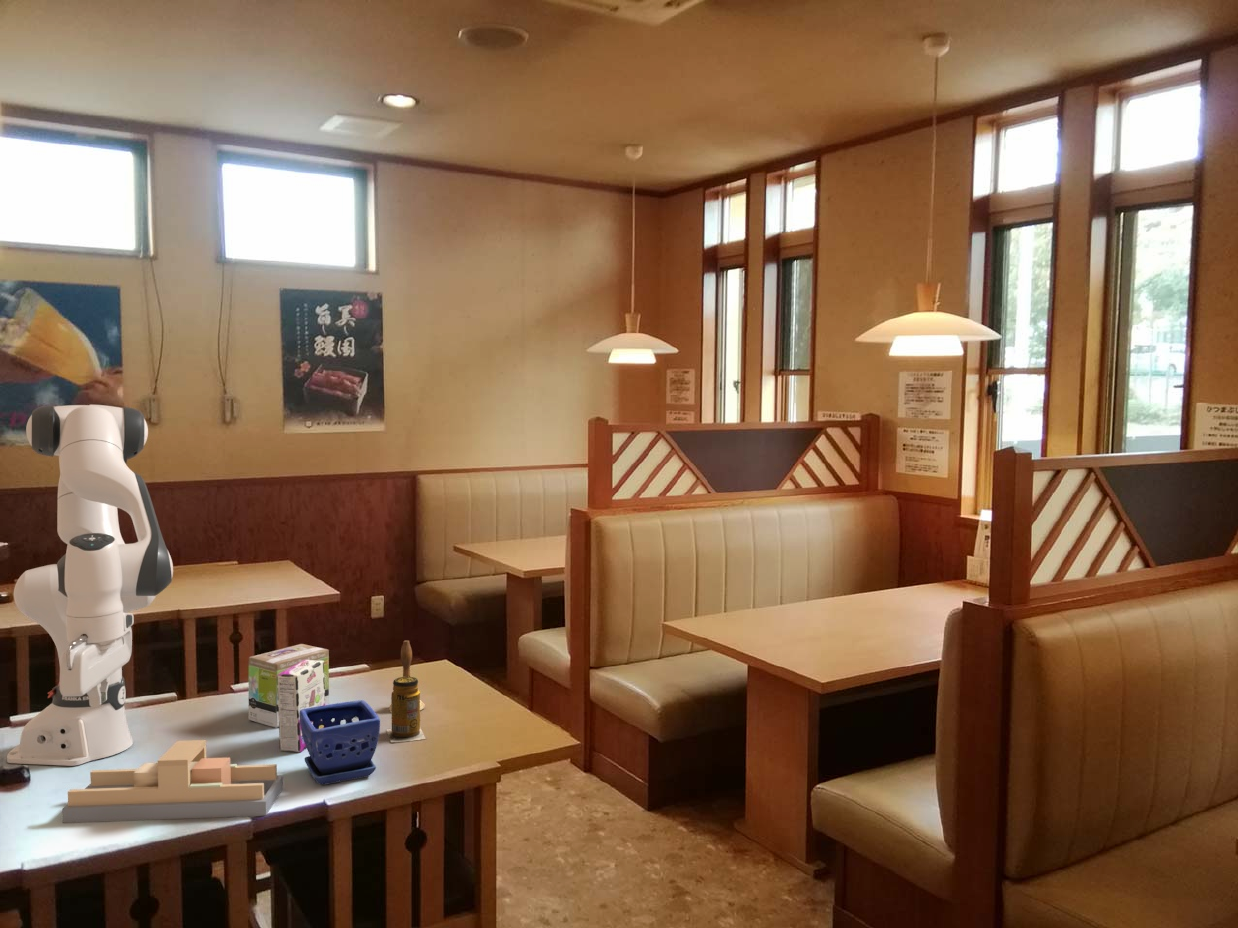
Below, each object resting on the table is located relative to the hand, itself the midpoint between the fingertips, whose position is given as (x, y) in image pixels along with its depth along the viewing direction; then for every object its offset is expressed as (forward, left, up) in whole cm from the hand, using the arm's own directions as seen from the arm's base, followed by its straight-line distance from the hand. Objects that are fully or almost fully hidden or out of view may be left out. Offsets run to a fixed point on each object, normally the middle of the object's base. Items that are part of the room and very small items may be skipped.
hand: (98, 703), depth 168 cm
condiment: (+49, +32, -19) cm, 62 cm away
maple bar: (+12, -1, -16) cm, 20 cm away
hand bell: (+47, +50, -19) cm, 71 cm away
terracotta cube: (+19, -1, -16) cm, 25 cm away
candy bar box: (+28, +29, -19) cm, 45 cm away
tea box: (+21, +47, -19) cm, 55 cm away
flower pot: (+39, +12, -19) cm, 45 cm away
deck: (+13, 0, -19) cm, 23 cm away
